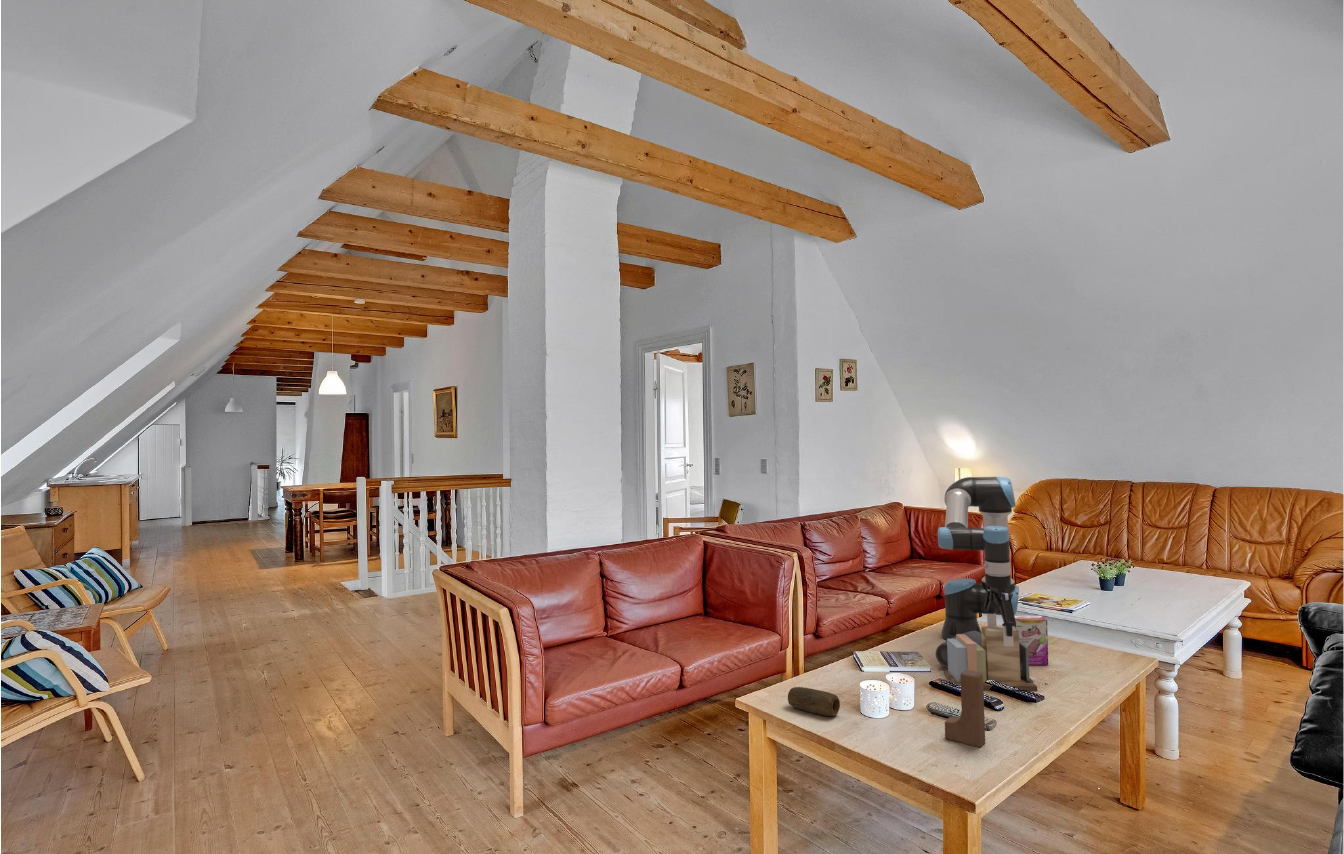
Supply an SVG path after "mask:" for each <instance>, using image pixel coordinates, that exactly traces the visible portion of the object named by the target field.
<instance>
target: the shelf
mask: <svg viewBox="0 0 1344 854" xmlns="http://www.w3.org/2000/svg"><path fill="white" fill-rule="evenodd" d="M943 675H944V676H945V678H946V679H947V680H948V681H949V680H950V681H951V682H953V683H954V684H956V685H958V686H961V682H957V681H956V679H955V678H954V677H953V676H952V675H951V674H950V673H949V672H948V670H943ZM950 681H949V682H950ZM951 682H950V683H951ZM997 682H1001V683H1003V684H1007V685H1009V686H1013V687H1015V688H1020V689H1022V690H1027V691H1026V692H1037V691H1038V685H1036V684H1035V683H1027V682H1025V681H1024V680H1023V679H1022V678H1021V681H997ZM992 686H993V685H990V684H987V683H985V682H983V691H988V690H989V689H990V688H991V687H992Z"/></svg>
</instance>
